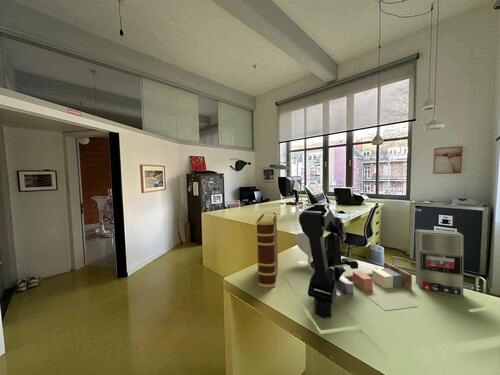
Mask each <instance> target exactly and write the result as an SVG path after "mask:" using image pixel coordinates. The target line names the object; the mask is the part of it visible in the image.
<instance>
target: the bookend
mask: <svg viewBox="0 0 500 375" xmlns="http://www.w3.org/2000/svg"><path fill="white" fill-rule="evenodd" d="M344 276H345V275H342V276H341V277H340V279H339V280H338V282H337V290H336V296H343V295H344V296H345V295H351V294H354V283H353V282H351V280H347V279H346V278H345V277H344Z"/></svg>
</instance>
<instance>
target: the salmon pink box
mask: <svg viewBox="0 0 500 375" xmlns="http://www.w3.org/2000/svg"><path fill="white" fill-rule="evenodd" d="M366 274H367V273H365V272H363V271H361V270H359V271H358V270H357V271H352V275H353V280H352V283H353V285H355V286H357V287H358V288H359V289H360V290H362V291H363V292H366V291H373V280H372V278H371V277H370V276H368V275H366Z"/></svg>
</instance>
